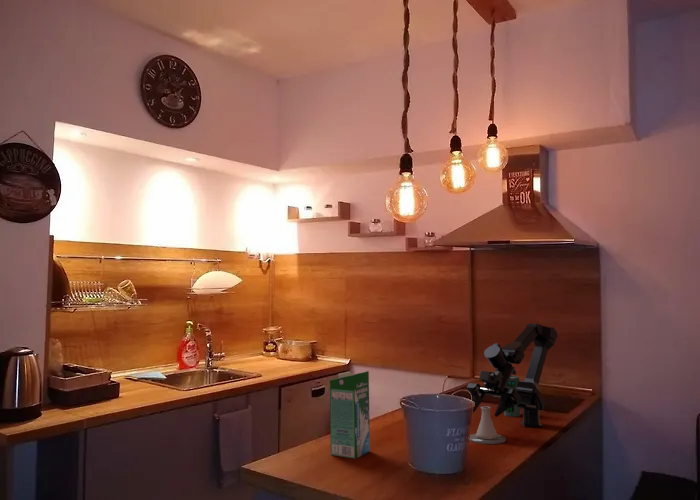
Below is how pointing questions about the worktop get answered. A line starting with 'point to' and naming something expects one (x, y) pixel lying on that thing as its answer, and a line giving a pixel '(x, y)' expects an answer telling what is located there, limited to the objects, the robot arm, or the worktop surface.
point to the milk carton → (350, 415)
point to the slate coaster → (487, 440)
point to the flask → (486, 425)
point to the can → (515, 410)
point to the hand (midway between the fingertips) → (483, 413)
